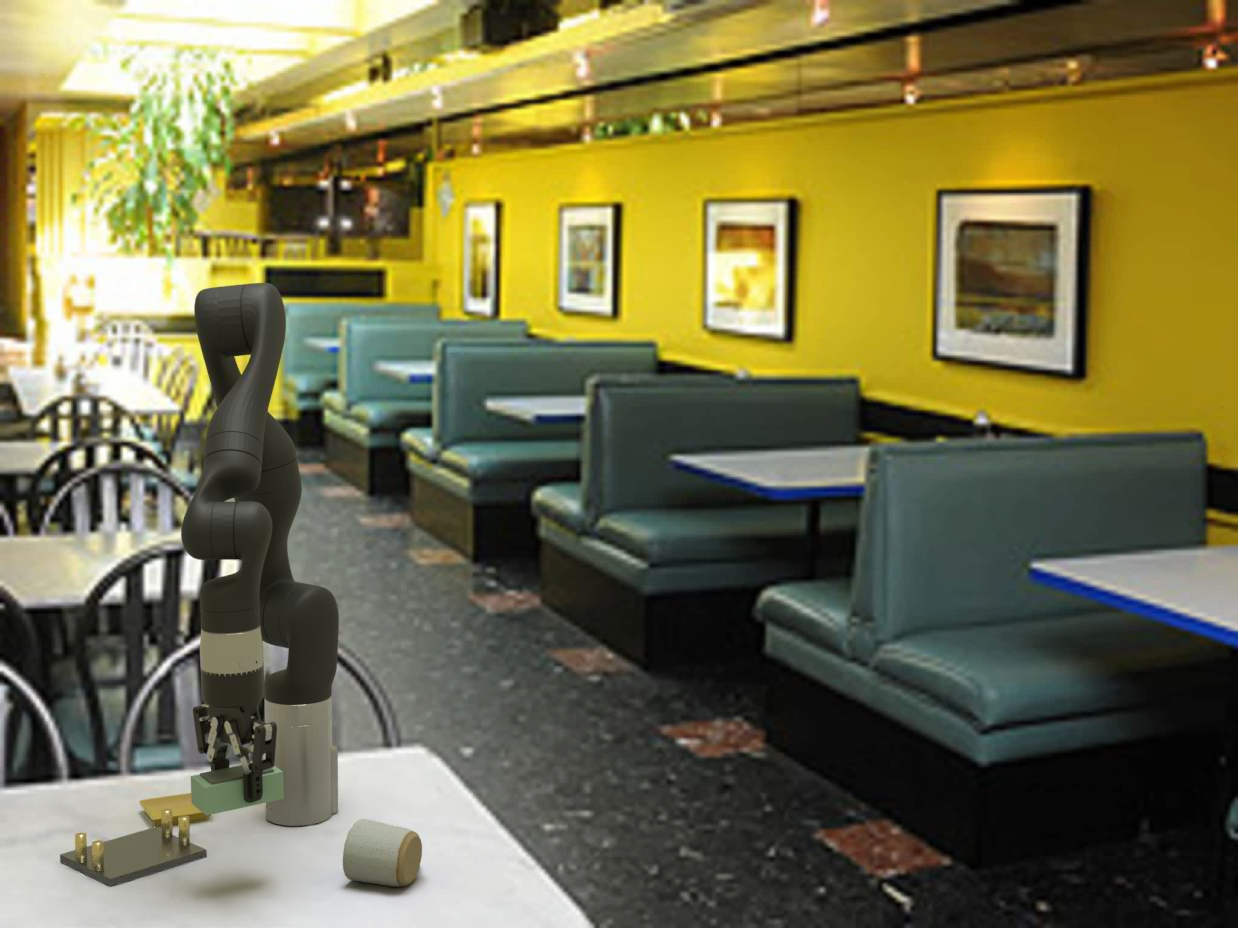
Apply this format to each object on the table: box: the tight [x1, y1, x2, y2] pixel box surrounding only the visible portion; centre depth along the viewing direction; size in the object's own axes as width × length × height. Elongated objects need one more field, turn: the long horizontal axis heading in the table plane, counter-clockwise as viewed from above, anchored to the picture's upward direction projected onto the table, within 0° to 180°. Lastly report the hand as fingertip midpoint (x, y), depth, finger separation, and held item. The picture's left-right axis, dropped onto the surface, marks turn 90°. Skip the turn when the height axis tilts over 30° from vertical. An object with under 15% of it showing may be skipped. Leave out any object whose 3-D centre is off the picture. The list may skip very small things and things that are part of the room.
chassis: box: [59, 809, 208, 887], centre depth 209 cm, size 14×12×4 cm
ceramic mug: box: [342, 818, 423, 888], centre depth 204 cm, size 11×8×8 cm
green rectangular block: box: [190, 764, 284, 816], centre depth 199 cm, size 10×5×4 cm, turn 125°
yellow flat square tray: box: [139, 792, 213, 828], centre depth 226 cm, size 9×9×2 cm
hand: (236, 794), depth 199 cm, fingers closed on green rectangular block, 5 cm apart
